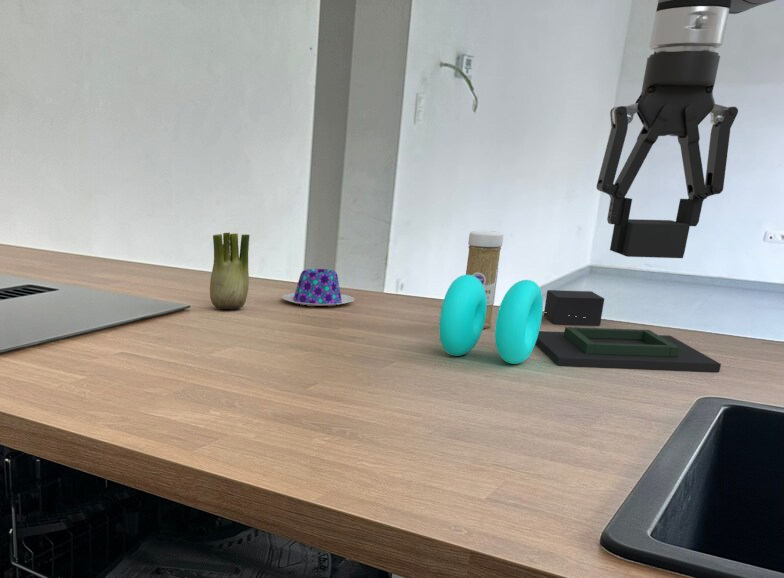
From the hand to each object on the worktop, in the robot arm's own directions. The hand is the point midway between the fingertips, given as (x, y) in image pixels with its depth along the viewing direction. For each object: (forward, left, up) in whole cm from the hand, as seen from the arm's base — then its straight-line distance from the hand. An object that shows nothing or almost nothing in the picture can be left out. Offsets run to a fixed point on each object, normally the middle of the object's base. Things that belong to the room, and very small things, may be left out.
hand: (646, 252), depth 108 cm
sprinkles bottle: (+18, -11, -12) cm, 24 cm away
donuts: (+20, +10, -12) cm, 25 cm away
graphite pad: (+3, -18, -12) cm, 22 cm away
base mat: (+3, +4, -12) cm, 13 cm away
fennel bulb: (+55, -18, -12) cm, 59 cm away
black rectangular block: (0, 0, 0) cm, 0 cm away
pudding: (+41, -27, -12) cm, 50 cm away
